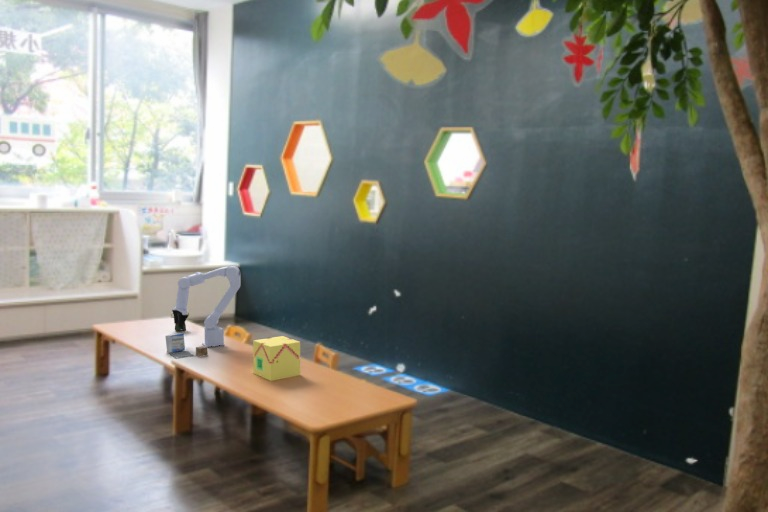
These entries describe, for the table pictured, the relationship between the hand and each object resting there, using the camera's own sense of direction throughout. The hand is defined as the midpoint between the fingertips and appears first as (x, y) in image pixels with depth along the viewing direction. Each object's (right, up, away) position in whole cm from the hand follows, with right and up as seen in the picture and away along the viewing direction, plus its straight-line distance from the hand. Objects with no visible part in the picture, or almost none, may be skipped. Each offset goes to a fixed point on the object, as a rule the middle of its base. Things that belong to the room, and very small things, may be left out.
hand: (178, 325), depth 337 cm
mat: (+7, -13, -19) cm, 24 cm away
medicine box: (+3, -12, -12) cm, 17 cm away
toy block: (+60, -17, -50) cm, 80 cm away
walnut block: (+17, -13, -18) cm, 28 cm away
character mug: (-11, -7, +37) cm, 40 cm away
